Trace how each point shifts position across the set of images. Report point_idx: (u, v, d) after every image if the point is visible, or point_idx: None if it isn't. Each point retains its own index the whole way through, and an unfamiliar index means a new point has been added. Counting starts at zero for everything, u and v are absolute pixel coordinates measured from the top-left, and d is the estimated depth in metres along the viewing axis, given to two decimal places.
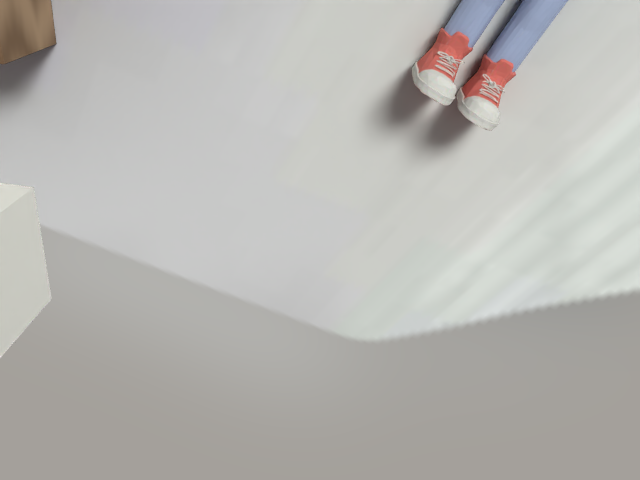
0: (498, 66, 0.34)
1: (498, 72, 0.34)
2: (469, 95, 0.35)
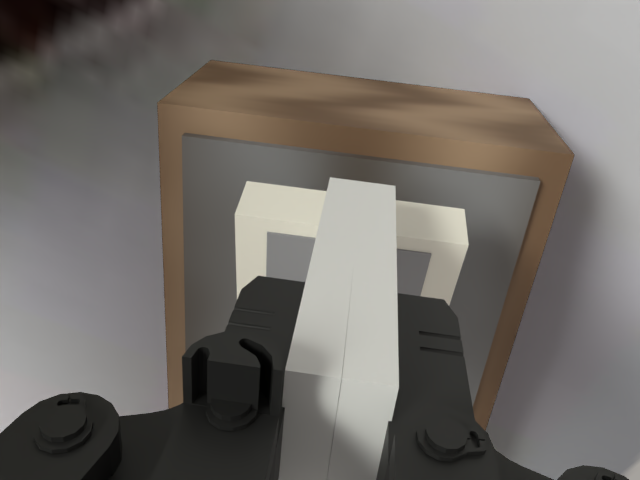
0: None
1: None
2: None
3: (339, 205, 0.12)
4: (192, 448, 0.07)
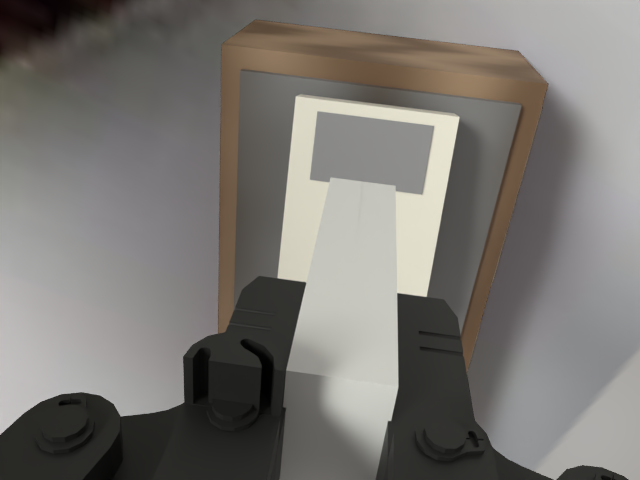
0: None
1: None
2: None
3: (340, 205, 0.12)
4: (193, 448, 0.07)
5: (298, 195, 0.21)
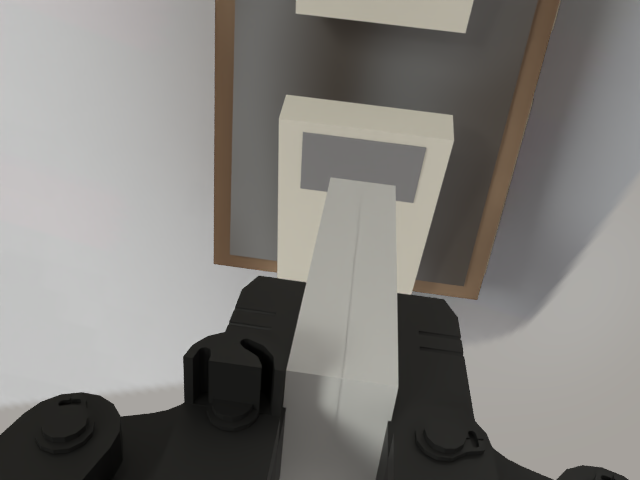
0: None
1: None
2: None
3: (340, 205, 0.12)
4: (193, 448, 0.07)
5: None
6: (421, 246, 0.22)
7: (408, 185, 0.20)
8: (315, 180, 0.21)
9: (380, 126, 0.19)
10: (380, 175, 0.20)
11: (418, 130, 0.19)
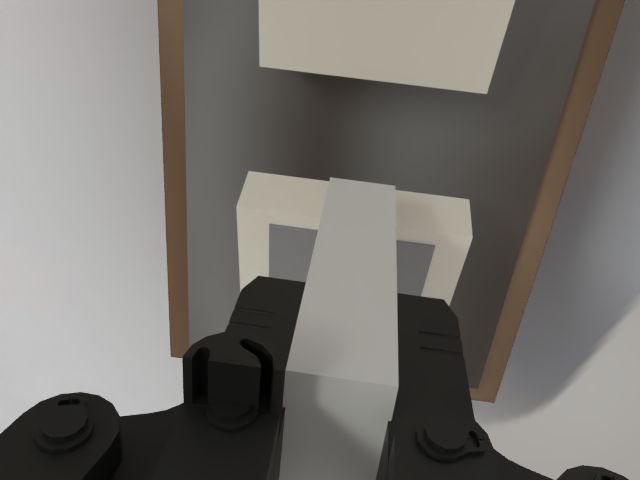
0: None
1: None
2: None
3: (340, 205, 0.12)
4: (192, 448, 0.07)
5: None
6: None
7: (411, 289, 0.15)
8: None
9: None
10: None
11: (424, 223, 0.14)
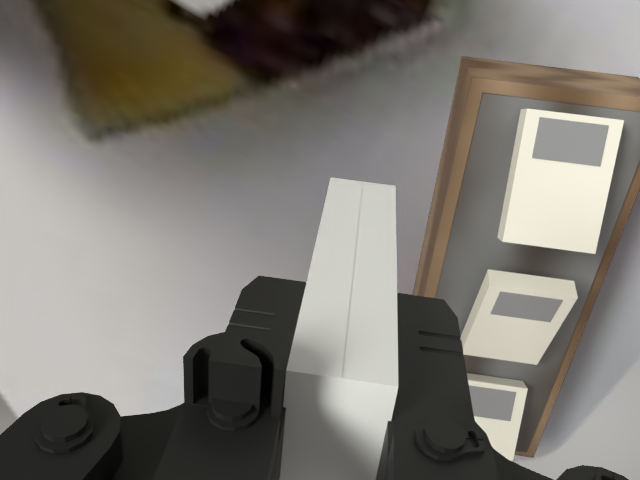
0: None
1: None
2: None
3: (340, 205, 0.12)
4: (193, 448, 0.07)
5: (524, 167, 0.35)
6: (514, 448, 0.46)
7: (508, 411, 0.45)
8: None
9: (496, 382, 0.45)
10: (495, 406, 0.45)
11: (511, 384, 0.45)
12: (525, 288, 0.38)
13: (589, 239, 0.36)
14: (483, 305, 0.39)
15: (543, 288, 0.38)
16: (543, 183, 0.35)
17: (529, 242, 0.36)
